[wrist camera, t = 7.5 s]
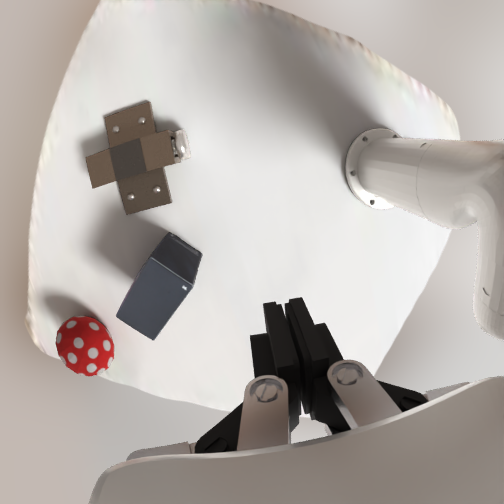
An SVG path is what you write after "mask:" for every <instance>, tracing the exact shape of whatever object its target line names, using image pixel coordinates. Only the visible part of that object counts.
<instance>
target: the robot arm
mask: <svg viewBox="0 0 504 504" xmlns="http://www.w3.org/2000/svg"><path fill="white" fill-rule="evenodd" d="M363 139H364V141H363ZM345 169H346V177H347V181H348V184H349V186H350V189H351V191H352V192H353V194H354V195H355V196H356V197H357V198H358V199H359V200H360V201H361V202H362V203H364V204H365V205H367V206H369V207H371V208H375V209H383V210H385V209H390V208H393V207H395V206H396V207H398V208H401V209H403V210H405V211H408V212H410V213H412V214H415V215H417V216H419V217H422V218H424V219H426V220H428V221H430V222H433V223H435V224H437V225H440V226H442V227H445V228H448V229H462V228H466V227H468V226H470V225H472V224H474V223H476V222H477V223H478V255H477V267H476V276H475V286H474V296H473V310H474V315H475V318H476V321H477V323H478V324H479V326H480V327H481V329H483V331H484V332H486V333H487V334H488V335H490V336H492V337H493V338H496V339H498V340H501V341H504V139H501V140H492V141H458V140H441V139H415V138H402V137H401V136H400V135H399V134H397V133H395V132H394V131H392V130H388V129H382V128H377V129H371V130H368V131H365V132H364V133H362V134H360V135H359V136H358V137H357V138H356V139H355V140H354V142H353V143H352V144H351V146H350V149H349V151H348V154H347V157H346V165H345ZM351 171H352V174H350V172H351ZM370 200H371V202H370ZM263 308H264V316H265V323H266V331H267V333H264V334H257V335H250V341H251V350H252V358H253V367H254V376H255V379H253V380H252V381H250V382H249V383H248V385H247V386H246V389H245V393H244V401H243V402H242V403H241V404H240V405H239V406H238V407H237V408H235V409H234V410H233V411H232V412H231V413H230V414H229V415H227V416H226V417H225V418H224V419H223V420H221V421H220V422H219V423H218V424H217V425H216V426H214V427H213V428H212V429H211V430H209V431H208V432H207V433H206V434H205V435H203V436H202V437H201V438H200V439H199V440H198V441H197V442H196V443H191V444H189V443H188V442H183V443H178V444H173V445H167V446H161V447H155V448H148V449H141V450H137V451H134V452H133V453H131V454H130V455H129V456H128V458H127V460H126V461H125V462H121V463H119V464H116V465H114V466H111V467H110V468H108V469H107V470H105V471H104V472H103V474H102V475H101V476H100V477H99V479H98V481H97V483H96V485H95V487H94V489H93V492H92V495H91V498H90V501H89V504H504V376H497V377H491V378H486V379H482V380H479V381H475V382H473V383H469V382H465V383H460V384H456V385H452V386H449V387H444V388H440V389H435V390H430V391H426V392H425V394H423V395H422V394H421V393H418V392H416V391H413V390H409V389H405V388H402V387H398V386H395V385H391V384H388V383H384V382H381V381H378V380H376V379H375V378H374V377H373V376H372V374H371V373H370V372H369V371H368V369H367V368H366V367H365V366H364V365H363V364H362V363H360V362H358V361H354V360H344V359H343V357H342V355H341V353H340V351H339V349H338V347H337V345H336V343H335V341H334V339H333V337H332V335H331V333H330V331H329V329H328V328H327V326H326V324H325V323H321V324H316V325H314V323H313V320H312V318H311V316H310V314H309V312H308V309H307V307H306V305H305V303H304V301H303V299H302V297H300V298H294V299H289V303H285V315H286V318H285V315H284V311H283V308H282V305H281V304H278V305H277V304H276V302H270V303H263ZM301 402H302V405H303V409H304V412H305V414H308V413H310V416H311V420H317V421H319V422H322V423H324V424H323V426H324V429H325V431H326V433H327V435H328V436H326V437H322V438H317V439H313V440H308V441H303V442H298V443H293V444H291V432H292V431H293V430H294V429H295V427H296V426H297V425H298V424H299V415H301Z"/></svg>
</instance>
